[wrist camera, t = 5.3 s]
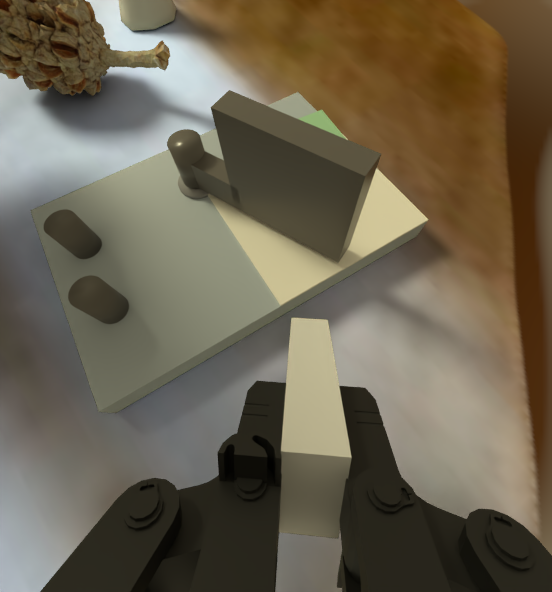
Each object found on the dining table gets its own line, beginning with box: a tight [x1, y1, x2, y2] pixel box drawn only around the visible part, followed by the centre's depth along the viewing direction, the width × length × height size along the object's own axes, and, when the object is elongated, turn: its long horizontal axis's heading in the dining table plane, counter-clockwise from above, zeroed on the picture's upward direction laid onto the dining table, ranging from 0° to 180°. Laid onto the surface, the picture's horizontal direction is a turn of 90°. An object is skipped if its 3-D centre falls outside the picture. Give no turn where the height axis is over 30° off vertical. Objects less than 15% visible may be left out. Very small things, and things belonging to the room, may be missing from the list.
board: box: [31, 92, 428, 413], centre depth 23 cm, size 26×18×5 cm
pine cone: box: [0, 0, 170, 96], centre depth 29 cm, size 22×10×10 cm, turn 77°
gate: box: [167, 90, 381, 263], centre depth 19 cm, size 15×2×8 cm, turn 56°
